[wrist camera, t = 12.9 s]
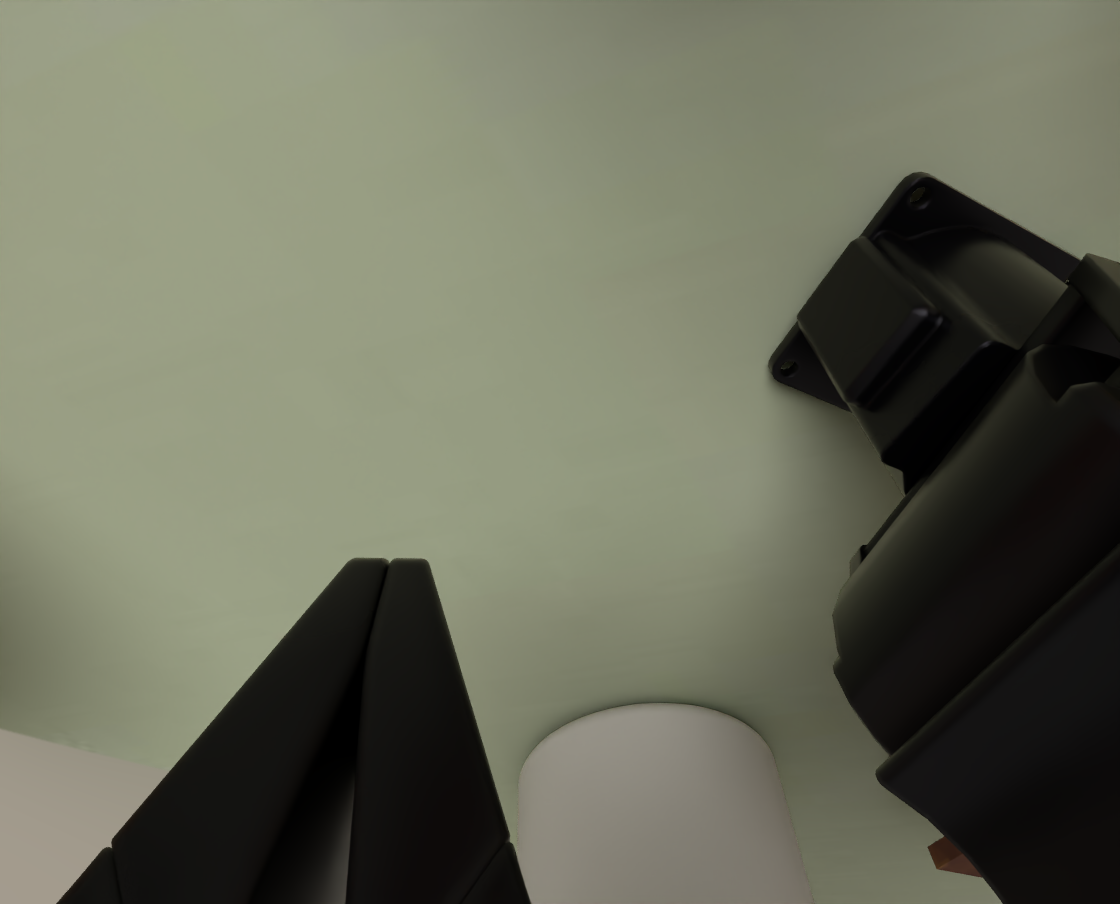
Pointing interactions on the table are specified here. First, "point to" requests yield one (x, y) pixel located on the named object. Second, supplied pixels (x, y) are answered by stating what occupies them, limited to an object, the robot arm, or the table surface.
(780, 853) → the cylinder vase
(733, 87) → the table surface
